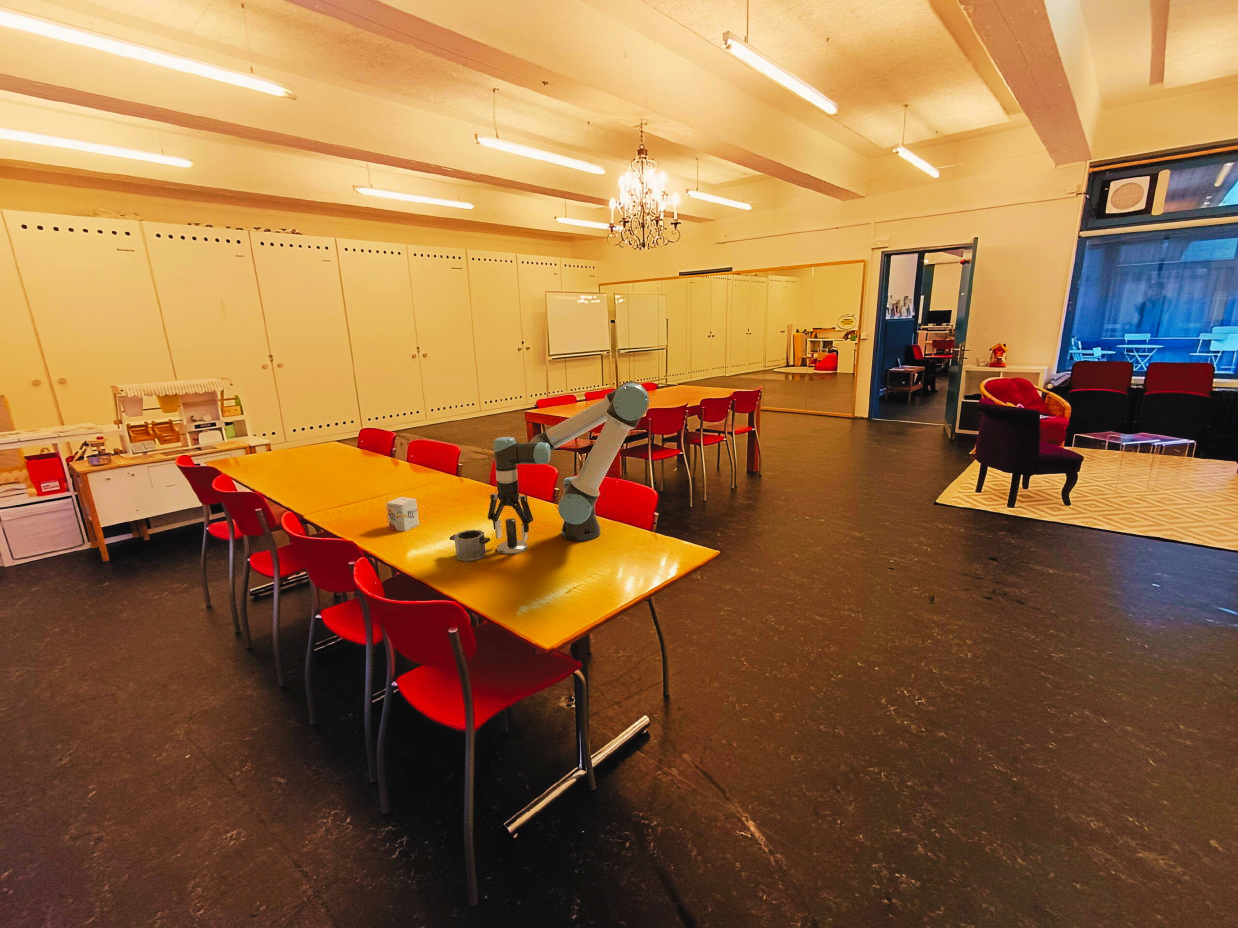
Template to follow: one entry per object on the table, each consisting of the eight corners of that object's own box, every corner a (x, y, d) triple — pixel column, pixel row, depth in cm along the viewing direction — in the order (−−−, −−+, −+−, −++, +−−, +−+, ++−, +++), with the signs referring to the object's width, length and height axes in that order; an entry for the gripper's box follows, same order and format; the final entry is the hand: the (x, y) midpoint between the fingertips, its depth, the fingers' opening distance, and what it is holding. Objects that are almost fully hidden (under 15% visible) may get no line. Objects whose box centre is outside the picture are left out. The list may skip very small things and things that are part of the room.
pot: (496, 552, 194) (494, 531, 193) (481, 563, 185) (479, 541, 183) (462, 548, 199) (460, 528, 197) (445, 559, 190) (443, 537, 188)
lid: (533, 544, 201) (531, 516, 199) (518, 556, 191) (516, 526, 188) (507, 541, 205) (504, 514, 202) (491, 552, 195) (489, 523, 192)
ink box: (388, 529, 222) (385, 502, 219) (404, 522, 229) (400, 496, 227) (405, 531, 218) (401, 504, 216) (420, 524, 226) (416, 498, 223)
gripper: (540, 479, 192) (544, 538, 197) (485, 476, 199) (490, 532, 204) (530, 485, 185) (534, 545, 190) (474, 481, 192) (479, 539, 197)
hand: (511, 538), depth 197 cm, fingers open, 10 cm apart
